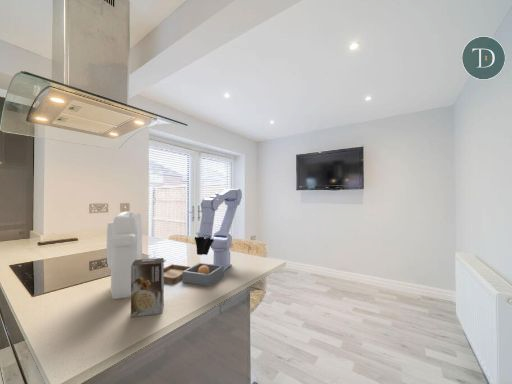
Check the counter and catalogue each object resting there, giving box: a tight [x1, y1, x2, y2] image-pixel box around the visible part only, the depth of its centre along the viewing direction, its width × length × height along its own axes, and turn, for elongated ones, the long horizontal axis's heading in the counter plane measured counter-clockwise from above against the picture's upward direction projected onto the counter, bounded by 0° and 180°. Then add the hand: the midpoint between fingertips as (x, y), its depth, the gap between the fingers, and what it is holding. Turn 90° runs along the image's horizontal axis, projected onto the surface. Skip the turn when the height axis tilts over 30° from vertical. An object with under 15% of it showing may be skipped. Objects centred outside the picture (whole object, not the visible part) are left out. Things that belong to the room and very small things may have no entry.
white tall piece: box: [106, 211, 143, 300], centre depth 90 cm, size 27×11×30 cm, turn 21°
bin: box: [181, 262, 224, 287], centre depth 101 cm, size 13×13×4 cm
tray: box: [164, 264, 191, 285], centre depth 104 cm, size 15×13×2 cm
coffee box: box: [130, 257, 165, 318], centre depth 73 cm, size 9×6×16 cm
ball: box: [198, 265, 209, 274], centre depth 101 cm, size 5×5×5 cm
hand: (202, 254), depth 100 cm, fingers open, 7 cm apart
